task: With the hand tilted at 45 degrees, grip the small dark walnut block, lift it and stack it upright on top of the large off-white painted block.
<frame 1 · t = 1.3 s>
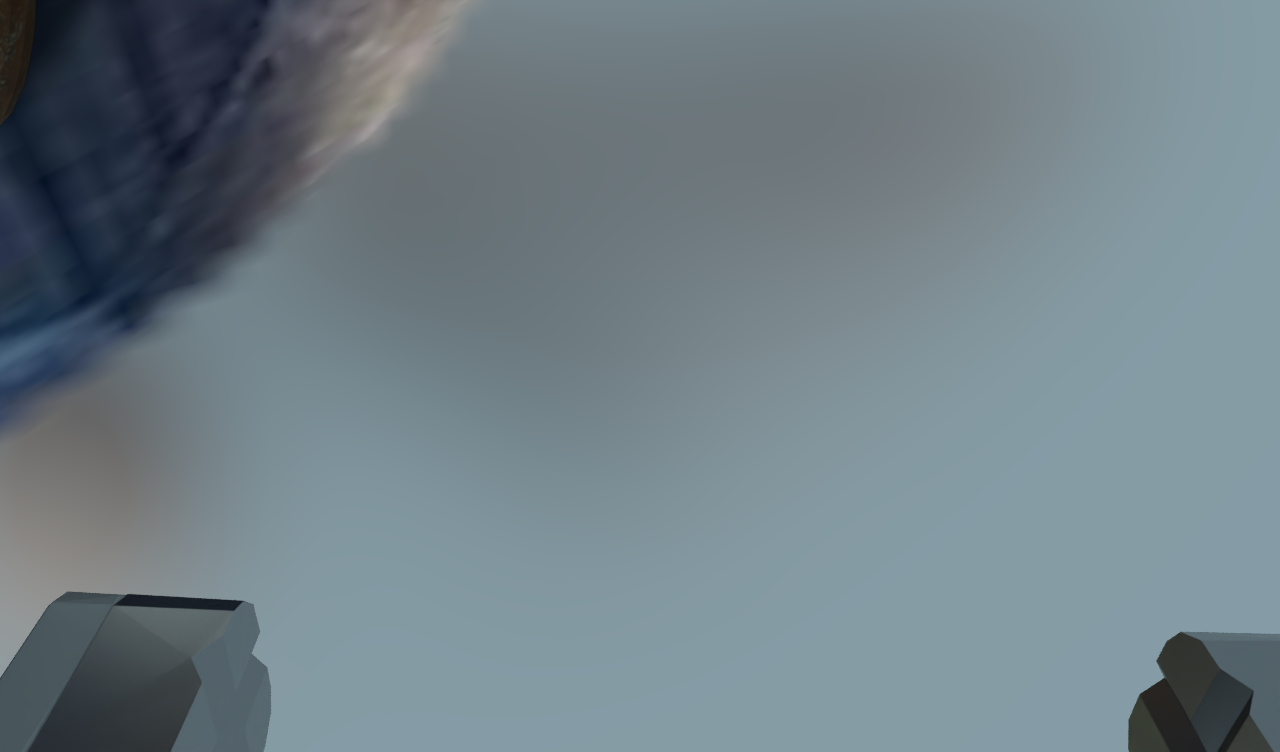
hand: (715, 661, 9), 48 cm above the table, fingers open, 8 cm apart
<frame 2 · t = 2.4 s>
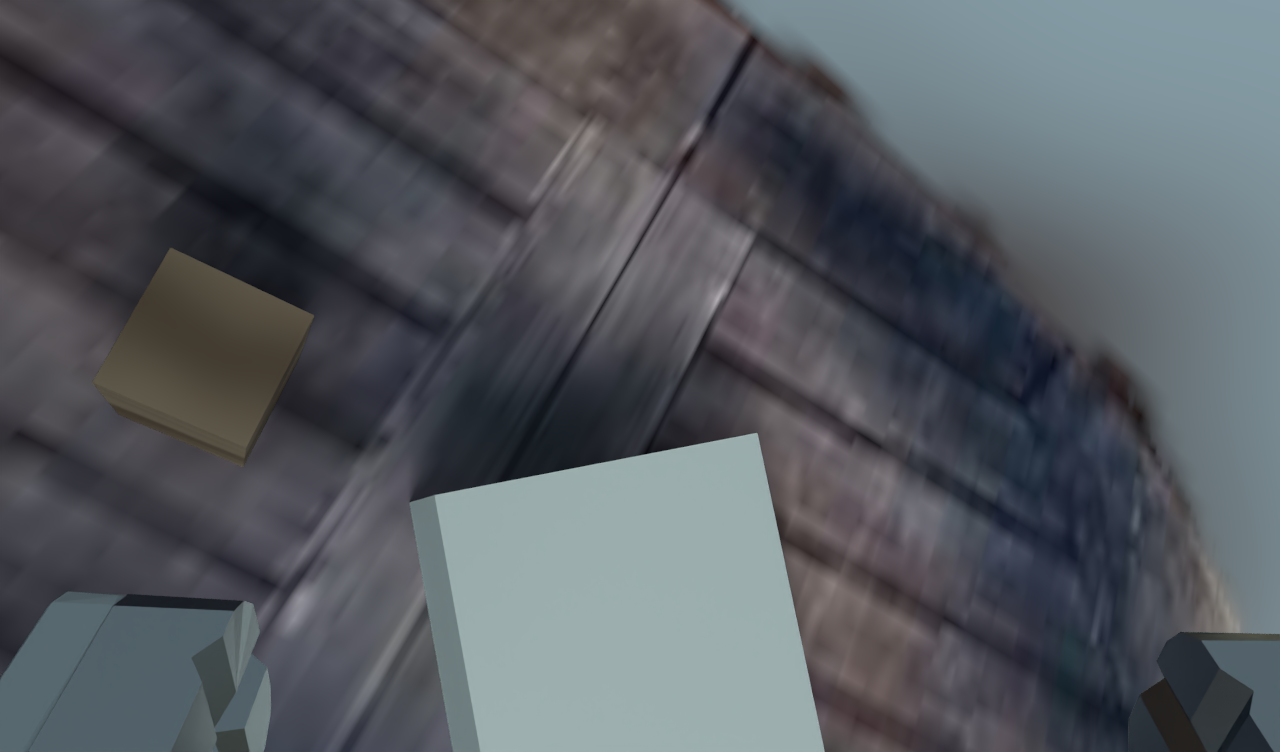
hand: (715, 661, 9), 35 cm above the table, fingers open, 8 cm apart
walnut block: (212, 384, 40), on the table
painted base block: (590, 626, 45), on the table
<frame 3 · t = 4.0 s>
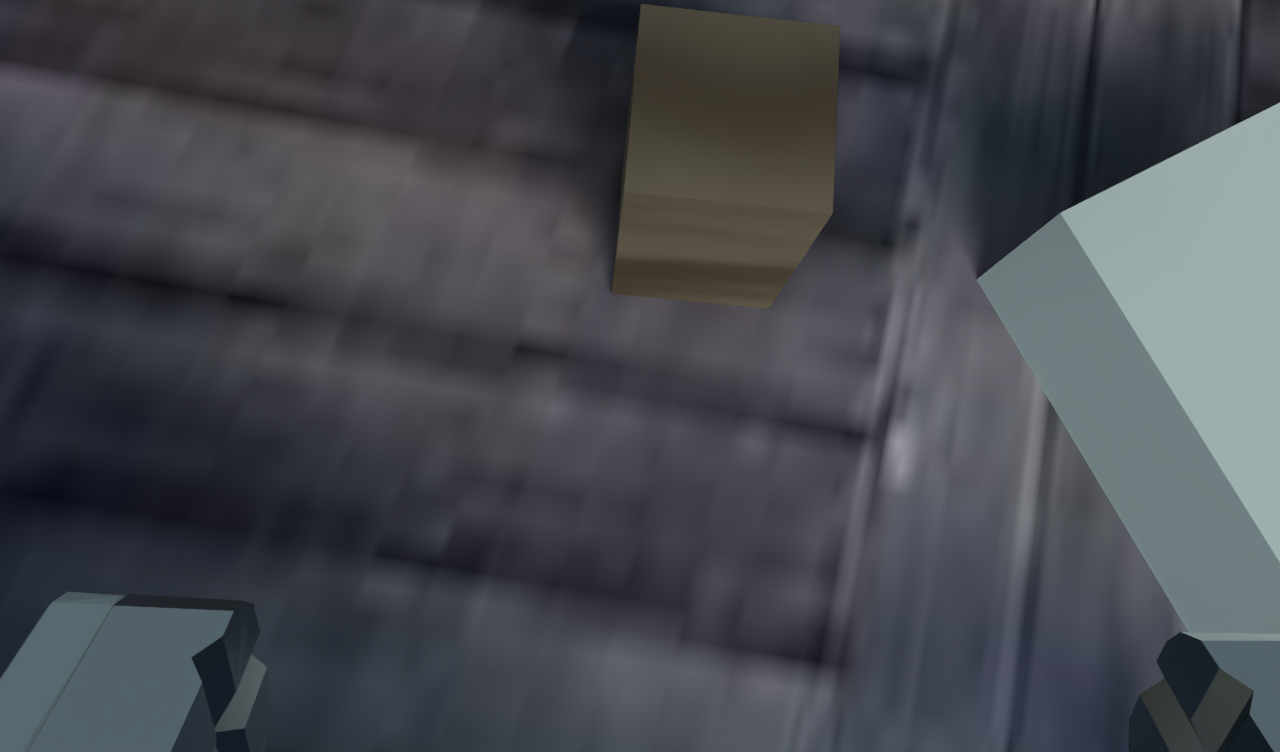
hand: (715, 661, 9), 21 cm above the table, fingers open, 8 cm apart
walnut block: (695, 226, 32), on the table
painted base block: (1262, 375, 32), on the table
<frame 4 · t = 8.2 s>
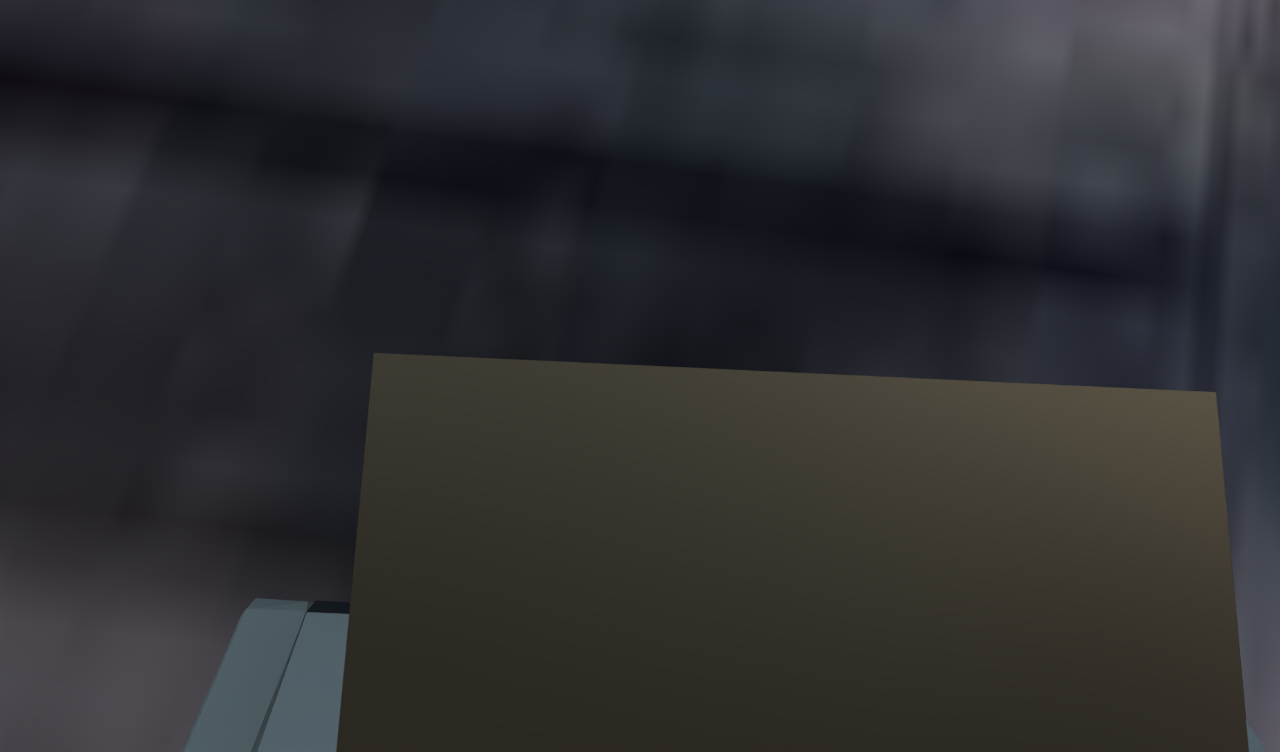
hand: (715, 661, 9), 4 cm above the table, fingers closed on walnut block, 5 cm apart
walnut block: (670, 688, 13), on the table, touching gripper
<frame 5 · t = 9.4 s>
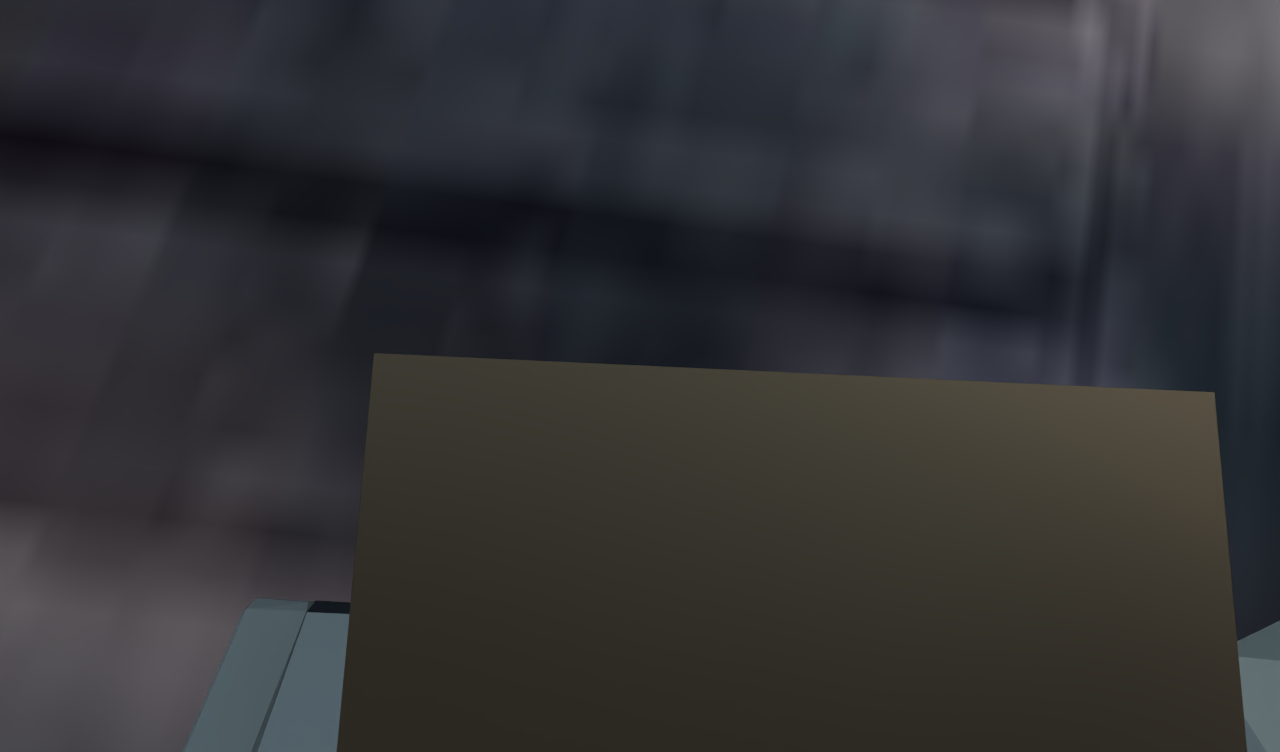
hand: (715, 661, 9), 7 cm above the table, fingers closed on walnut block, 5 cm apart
walnut block: (670, 688, 13), point 2 cm above the table, touching gripper
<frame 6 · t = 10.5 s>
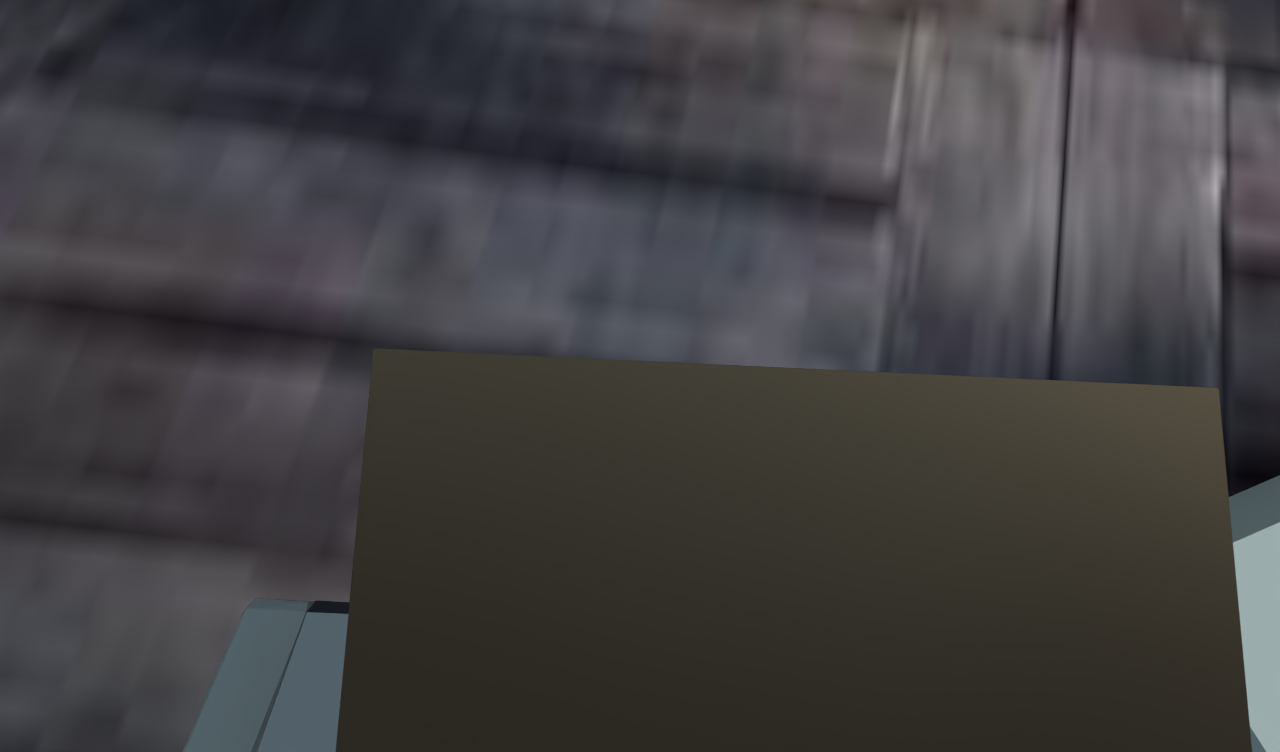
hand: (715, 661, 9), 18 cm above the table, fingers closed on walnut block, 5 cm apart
walnut block: (670, 686, 13), point 14 cm above the table, touching gripper
when the fingers open (11 cm above the table, at t = 15.1 s): walnut block drops 1 cm, point 6 cm above the table.
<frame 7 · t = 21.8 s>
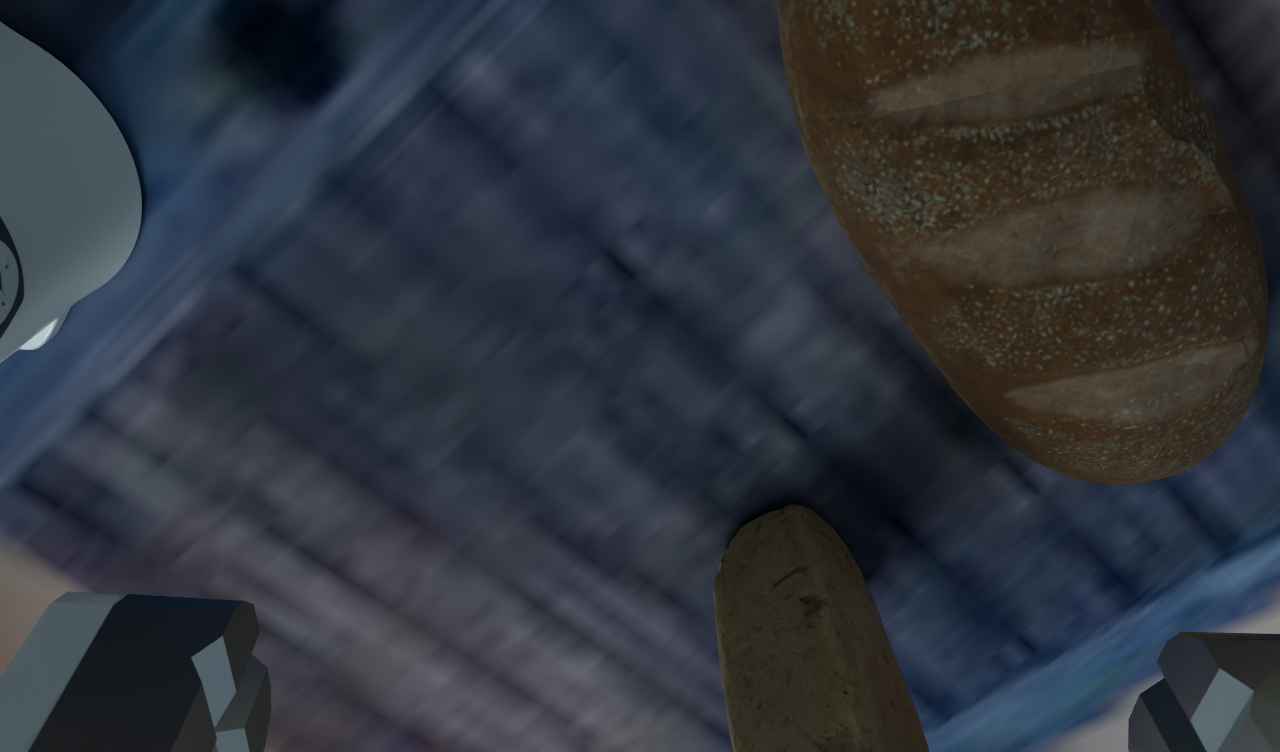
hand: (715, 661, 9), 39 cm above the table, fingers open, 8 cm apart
bread: (1018, 190, 49), on the table
block: (795, 560, 61), on the table
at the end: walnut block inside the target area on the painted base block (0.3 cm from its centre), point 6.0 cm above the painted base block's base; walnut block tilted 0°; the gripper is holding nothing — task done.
